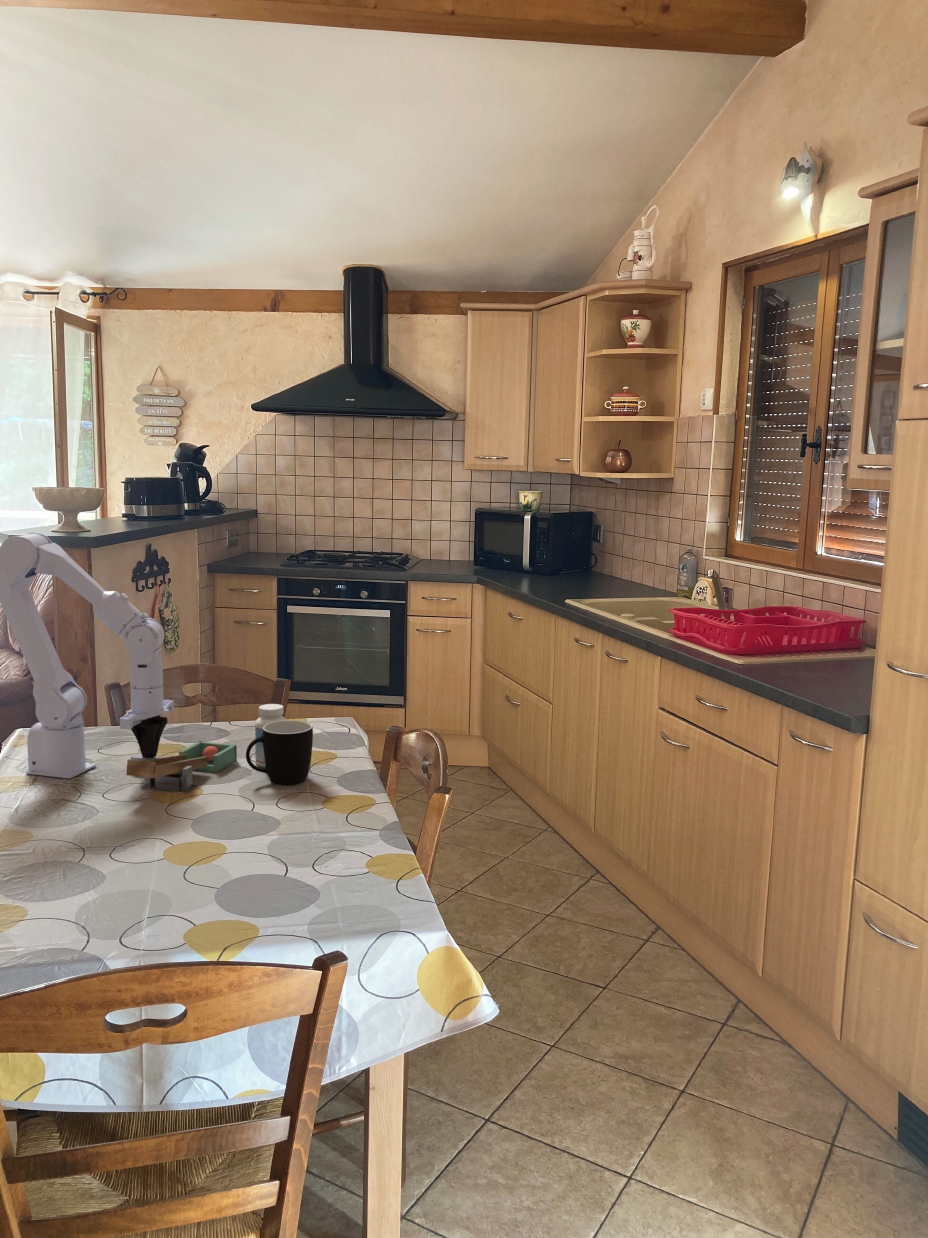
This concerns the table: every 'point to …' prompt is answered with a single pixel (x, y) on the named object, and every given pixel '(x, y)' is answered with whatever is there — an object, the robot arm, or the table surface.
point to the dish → (221, 759)
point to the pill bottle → (267, 715)
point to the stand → (172, 782)
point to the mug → (285, 751)
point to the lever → (162, 765)
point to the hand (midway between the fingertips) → (149, 757)
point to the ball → (210, 753)
